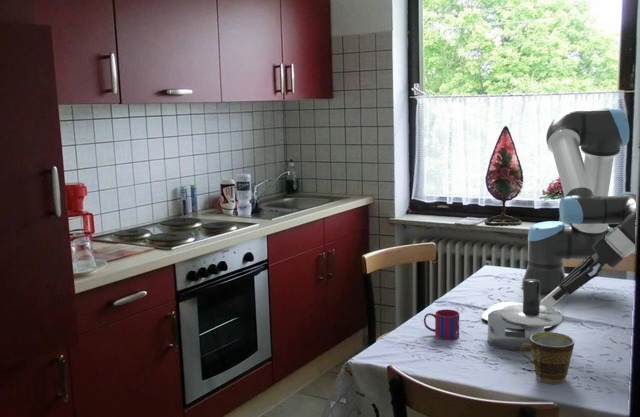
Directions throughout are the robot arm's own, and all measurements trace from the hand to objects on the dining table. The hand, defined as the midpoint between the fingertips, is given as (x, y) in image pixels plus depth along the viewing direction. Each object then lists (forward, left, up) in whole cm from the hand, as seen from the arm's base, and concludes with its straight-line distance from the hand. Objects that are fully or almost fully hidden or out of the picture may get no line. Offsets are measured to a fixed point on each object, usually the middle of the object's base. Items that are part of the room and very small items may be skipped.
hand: (544, 305), depth 181 cm
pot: (-1, -7, -11) cm, 13 cm away
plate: (-21, -2, -12) cm, 24 cm away
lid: (-1, -3, -4) cm, 5 cm away
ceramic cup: (+24, -4, -11) cm, 26 cm away
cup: (-5, -27, -11) cm, 30 cm away
